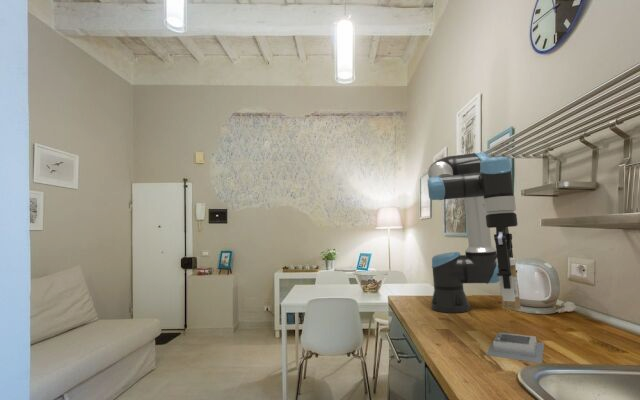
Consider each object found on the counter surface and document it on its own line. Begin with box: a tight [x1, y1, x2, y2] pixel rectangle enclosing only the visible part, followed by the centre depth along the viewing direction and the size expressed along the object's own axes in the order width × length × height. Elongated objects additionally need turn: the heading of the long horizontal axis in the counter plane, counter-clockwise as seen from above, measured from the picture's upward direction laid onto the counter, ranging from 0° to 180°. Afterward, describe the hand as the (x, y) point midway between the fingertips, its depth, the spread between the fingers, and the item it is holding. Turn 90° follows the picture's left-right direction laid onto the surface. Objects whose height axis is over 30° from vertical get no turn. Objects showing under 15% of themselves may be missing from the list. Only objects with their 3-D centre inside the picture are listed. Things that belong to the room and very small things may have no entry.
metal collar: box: [492, 331, 537, 357], centre depth 86 cm, size 9×9×2 cm
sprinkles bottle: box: [496, 257, 522, 311], centre depth 88 cm, size 5×5×13 cm
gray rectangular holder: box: [485, 341, 545, 365], centre depth 86 cm, size 16×12×1 cm
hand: (510, 299), depth 88 cm, fingers closed on sprinkles bottle, 4 cm apart
